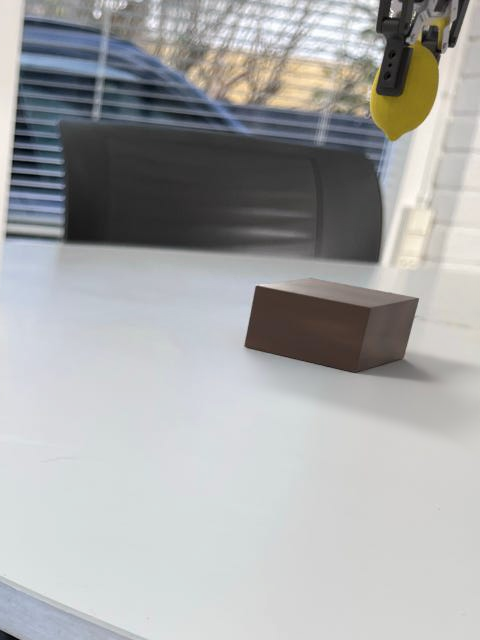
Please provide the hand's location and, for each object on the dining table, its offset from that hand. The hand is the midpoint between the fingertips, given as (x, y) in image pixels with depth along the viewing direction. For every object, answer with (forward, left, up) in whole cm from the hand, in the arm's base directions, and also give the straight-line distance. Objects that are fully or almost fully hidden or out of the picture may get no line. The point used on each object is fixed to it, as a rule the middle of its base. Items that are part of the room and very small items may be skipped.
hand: (402, 97), depth 93 cm
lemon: (0, 0, -4) cm, 4 cm away
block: (+15, +4, -20) cm, 25 cm away
